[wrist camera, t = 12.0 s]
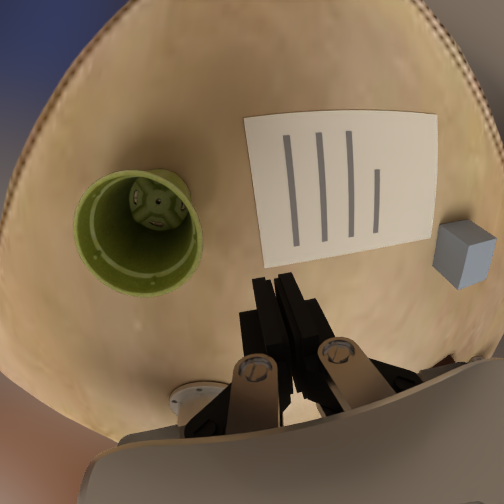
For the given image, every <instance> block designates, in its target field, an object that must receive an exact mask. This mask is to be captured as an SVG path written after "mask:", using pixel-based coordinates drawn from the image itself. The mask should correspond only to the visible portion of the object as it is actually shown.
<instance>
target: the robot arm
mask: <svg viewBox="0 0 504 504" xmlns="http://www.w3.org/2000/svg"><path fill="white" fill-rule="evenodd" d="M252 283H253V289H254V295H255V301H256V307H257V309H256V310H251V311H245V312H239V317H240V326H241V334H242V343H243V352H244V357H243V358H242V359H240V360H239V361H238V362H237V363H236V365H235V367H234V370H233V377H232V382H231V383H230V384H229V385H226V384H222V383H216V382H195V383H189V384H186V385H183V386H180V387H178V388H177V389H175V390H174V391H173V392H172V393H171V395H170V399H169V406H170V408H171V410H172V411H173V412H174V413H175V414H176V415H177V416H178V423H177V425H172V426H168V427H164V428H159V429H155V430H150V431H145V432H139V433H134V434H129V435H127V436H125V437H123V438H122V439H121V440H120V441H119V443H118V445H117V447H114V448H111V449H108V450H106V451H104V452H102V453H100V454H98V455H97V456H95V457H94V458H93V459H92V461H91V462H90V463H89V465H88V467H87V469H86V471H85V474H84V476H83V479H82V483H81V486H80V491H79V495H78V500H77V504H504V358H489V359H482V360H478V361H474V362H471V363H466V362H457V363H452V364H448V365H444V366H439V367H434V368H429V369H424V370H420V372H419V373H417V374H416V373H414V372H412V371H410V370H407V369H403V368H400V367H396V366H393V365H390V364H386V363H383V362H380V361H377V360H374V359H370V358H368V357H367V356H366V355H365V353H364V352H363V351H362V350H361V348H360V347H359V346H358V345H357V344H356V343H355V342H354V341H353V340H351V339H349V338H345V337H335V335H334V333H333V331H332V329H331V327H330V325H329V323H328V321H327V319H326V317H325V315H324V313H323V311H322V309H321V308H320V306H319V304H318V302H317V300H316V299H315V298H314V299H309V300H304V299H303V296H302V294H301V292H300V290H299V288H298V285H297V283H296V281H295V279H294V277H293V274H292V273H291V272H289V273H284V274H279V275H278V278H275V279H274V284H275V293H276V296H275V293H274V289H273V286H272V283H271V280H265V277H262V278H256V279H252ZM292 376H293V380H294V383H295V387H296V391H297V393H299V392H302V394H303V397H304V399H306V398H307V399H309V400H311V401H313V402H316V406H317V409H318V411H319V413H320V414H321V416H322V418H319V419H315V420H311V421H307V422H303V423H298V424H293V425H289V426H284V423H283V412H284V410H285V409H286V408H287V407H288V406H289V404H290V403H291V398H290V394H293V382H292Z"/></svg>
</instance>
